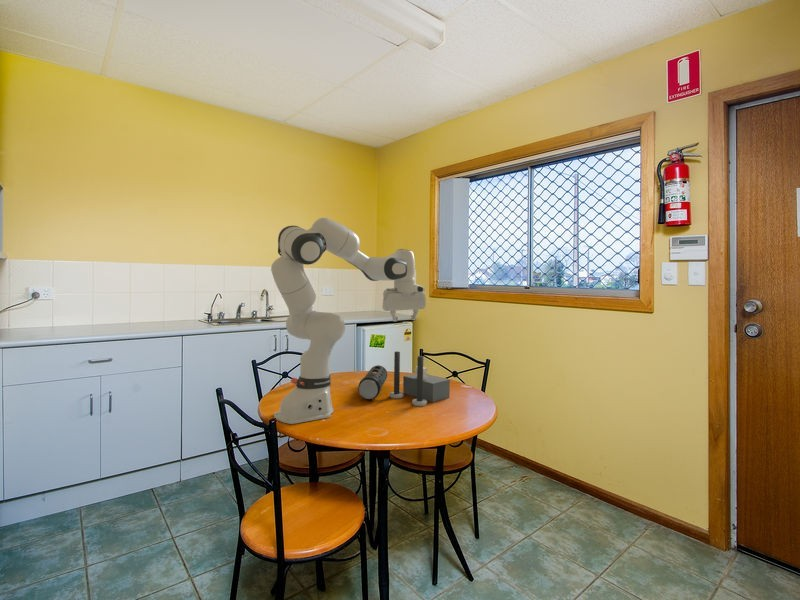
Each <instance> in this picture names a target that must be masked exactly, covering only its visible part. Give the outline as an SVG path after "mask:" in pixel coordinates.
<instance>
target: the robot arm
mask: <svg viewBox="0 0 800 600" xmlns="http://www.w3.org/2000/svg"><path fill="white" fill-rule="evenodd" d="M360 245H361V240H360V237H359V235H357V233H356V232H354V230H351V229H350V228H348V227H347V226H345V225H343V224H342V223H340V222H339V221H338V222H337V221H335V220H333V219H330V218H328V217H320V218H318V219H316V220H315V221H314V222H313V224H312V226H311V227H309V229H305V228H302V227H300V226H299V225H298V226H297V225H288V226H285V227H283V228H282V229H281V230H280V231H279V233H278V238H277V253H278V255H279V256H280V257H278V258H277V259H275V260H274V261H273V262H272V264H271V267H270V268H271V269H270V271H271V273H272V278H273V280H274V283H275V285H276V287H277V289H278V291H279V294H280V295H281V297H282V298H283V301H284V303H285V305H286V306H287V309H288V313H289V315H288V316H287V319H286V323H285V327H286V331H287V333H288V334H289V335H291V336H293V337H296V338H298V339H300V340H308V341H309V340H310V342H309V343H310V344H309V347H308V349H307V350H306V351H304V352H303V353H302V354H301V355H300V361H299V362H300V368H299V370H300V375H299V376H298V378H296V377H291V379H290V382H291V383H292V384H294V385H295V387H294V388H293V389H292V390H291V391H289V393H288V394H286V395H285V396H284V397H283V398H282V400H281V402H280V407H279V410H278V411H275V412H273V418H274V419H275V418H276V419H275V420H277V421H278V422H281V423H284V424H289V425H294V424H299V423H305V422H311V421H317V420H322V419H323V420H324V419H328V418H331V416H332V414H333V413H334V411H335V410H334V408H333V403H332V398H331V397H332V396H331V390H330V389H331V388H330V387H331V382H332V381H331V378H332V377H331V374H330V367H331V366H330V365H331V354H332V351H333V348H334V346H335V345H336V344H337V342H338V341H339V340H340V339H342V337H343V336H344V334H345V331H346V324H345V320H344V318H343V317H342V316H340V315H337V314H336V313H332V312H325V311H317V310H315V309H314V308H313V305H314V304H315V302H316V299H317V294H316V292H315V290H314V288H313V286H312V284H311V281H310V279H309V278H308V276H307V274H306V272H305V269H304V265H305V266H306V265H307V266H309V265H314V264H315V263H316V262H318V261H319V260H320V259H321V257H322V256H323V254H324V253H325V252H326V251H327V252H329V253H331V254H333V255H335V256H337V257H338V258H341V259H343V260H344V261H346V262H348V264H350V265H352V266H353V267H355V268H357V269H358V270H360V272H361V273H363V275H364V276H365V278H366V279H368V280H370V281H372V282H376V281H377V282H378V281H394V282H393V288H386V289H385V290H384V291H383V295H382V296H383V299H382V305H381V306H382V309H383V311H385V312H389V313H390V316H391V317H392V322H398V316H396V312H397V311H411V310H412V315H411V316H410V320H411V321H416V319H417V315H418V313H419V310H425V308H426V304H427V302H426V299H427V298H426V294H425V293H424V292H425V291H426V288H425V287H424V286H422V285H419V284H417V283H416V278H415V272H416V261H415V260H416V259H415V256H414V255H415V254H414V252H413V251H412V250H409V249H404V248H399V249H396V250H395V251H394V252H393V253H392V254H390V255H388V256H384V257H382V256H381V257H379V256H378V257H377V256H374V257H373V256H368V255H366V254H365V253H363V252H362V251H360V250H359V249H360V247H361V246H360Z"/></svg>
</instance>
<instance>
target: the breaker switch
mask: <svg viewBox="0 0 800 600" xmlns="http://www.w3.org/2000/svg"><path fill="white" fill-rule="evenodd" d="M414 370H415V371H414V372H415V373H414V374H415V378H417V366H415V369H414ZM427 371H428V368H427V367H424V366H423V380H426V379H427V374H428V372H427Z"/></svg>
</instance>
